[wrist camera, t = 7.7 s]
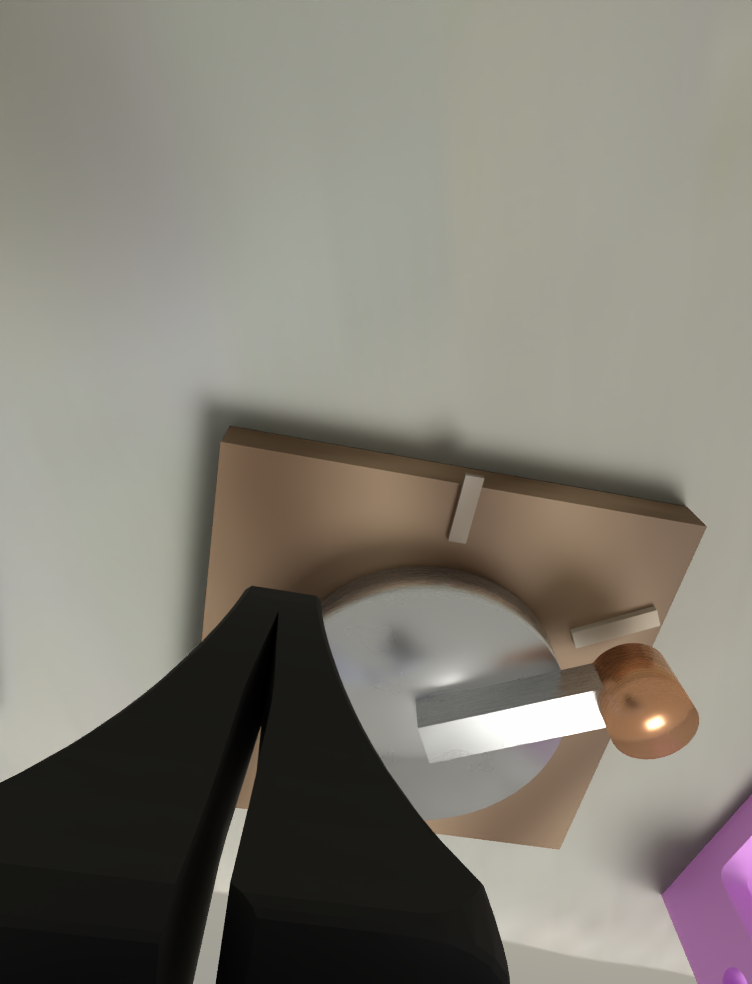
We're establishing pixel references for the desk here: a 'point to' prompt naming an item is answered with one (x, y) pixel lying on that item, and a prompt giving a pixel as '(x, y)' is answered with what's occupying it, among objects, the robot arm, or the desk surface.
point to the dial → (484, 687)
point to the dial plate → (457, 545)
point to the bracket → (717, 904)
